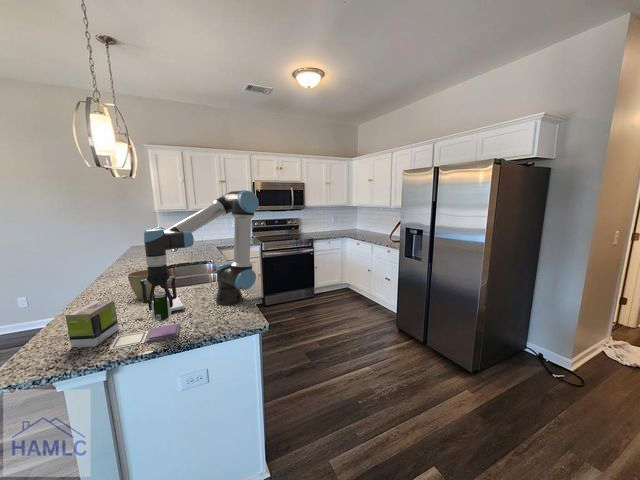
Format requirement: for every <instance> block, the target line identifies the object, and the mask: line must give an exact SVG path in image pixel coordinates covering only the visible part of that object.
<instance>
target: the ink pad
mask: <svg viewBox="0 0 640 480" xmlns="http://www.w3.org/2000/svg"><path fill="white" fill-rule="evenodd" d="M180 327H181V323H175V324H168V325H163V326H157V327H152V328H150V330H149V331H148V334H147V336H146V339H145V341H146V343H147V342H149V343H153V341H154V342H159V341H163V340H165V341H166V340H168V339H169V340H170V339H175V338H179V334H180V329H181V328H180ZM158 340H159V341H158ZM147 344H148V343H147Z"/></svg>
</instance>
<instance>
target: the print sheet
mask: <svg viewBox="0 0 640 480" xmlns="http://www.w3.org/2000/svg"><path fill="white" fill-rule="evenodd" d="M148 335H149V330H144V331H140V332H134V333H128V334H122V335H118V336H117V335H116V337H115V339H114V341H112V344H111V345H110V347H109V349H108V351H110V350H111V351H112V350H117V349H121V348H122V347H123V348H126V346H128V347H132V346H131V345H133V346H137V345H136V344H138V343H140V344H138V345H142V344H141V343H144V344H145V341H146V340H147V337H148Z"/></svg>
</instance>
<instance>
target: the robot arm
mask: <svg viewBox="0 0 640 480" xmlns="http://www.w3.org/2000/svg"><path fill="white" fill-rule="evenodd" d="M259 203H260V202H259V199H258V197H257V195H256V194H255V193H254V192H253V191H250V190H234V191H229V192H228V193H225V194H224V195H222V196H220V197H218V198H217V199H214V201H213V202H212V203H211V204H210V205H208V206H206V207H204V208H203V209H201V210H199V211H197V212H195V213H193V214H192V215H190V216H188V217H187V218H185V219H183V220H181V221H179V222H178V223H176V224H174V225H173V226H170V227H169V228H166V229H162V228H159V229H158V228H157V229H153V228H152V229H145V231H144V232H143V243H144V250H145V260H146V266H147V267H146V270H147V272H148V277H147V279H145V280H141V282H140V284H141V285H142V293H143V299H142V303H143V304H148V311H150V310H152V315H153V317H152V318H153V319H155V311H154V302H152V301H153V296H154V294H155V290H156V287H162V288H163V290H164V292H166V295H167V298H168V299H169V300H168V301H167V305H168V315H169V316H171V314H172V311H171V307H173V299H176V297H178V293H177V286H176V279H177V277H176V276H175V275H174V276H172V275H171V276H170V275H169V271H168V264H167V261H168V260H167V251H169V250H178V249H186V248H191V247H192V246H193V245H194V241H195V239H194V238H195V237H194V235H193V233H194V232H196V231H198V230H199V229H201V228H202V227H204V226H206V225H207V224H209V223H210V222H213V221H214V220H215V219H217V218H219V217H221V216H226V215H228V214H230V213H231V216H232V217H234V233H233V234H234V237H233V239H234V240H233V261H230V262H229V261H228V262H223V263H220V264H218V265H217V266H216V276H217V277H216V278H217V293H216V296H215V303H216V304H217V305H219V306H230V305H231V306H232V305H236V304H238V303H240V302H242V300H243V299H244V298H243V293H242V291H246V290H249V289H251V288H252V287H253V286H254V285H255V283H256V280H257V275H256V272H255V271H254V270H253V264H252V263H251V261H250V259H251V238H252V237H251V236H252V235H251V234H252V233H251V232H252V230H251V229H252V228H251V227H252V219H253V218H254V217H255V212H256V211H257V210H258V209H259V205H260V204H259ZM168 280H169V282H171V290H172V294H171V291H170V289H169V286H168V283H167V281H168ZM147 281H148V282H149V283H151V284H152V287H151V292H150V296H149V298H147V287H146V284H147ZM241 290H242V291H241ZM152 315H151V316H152Z"/></svg>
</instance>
